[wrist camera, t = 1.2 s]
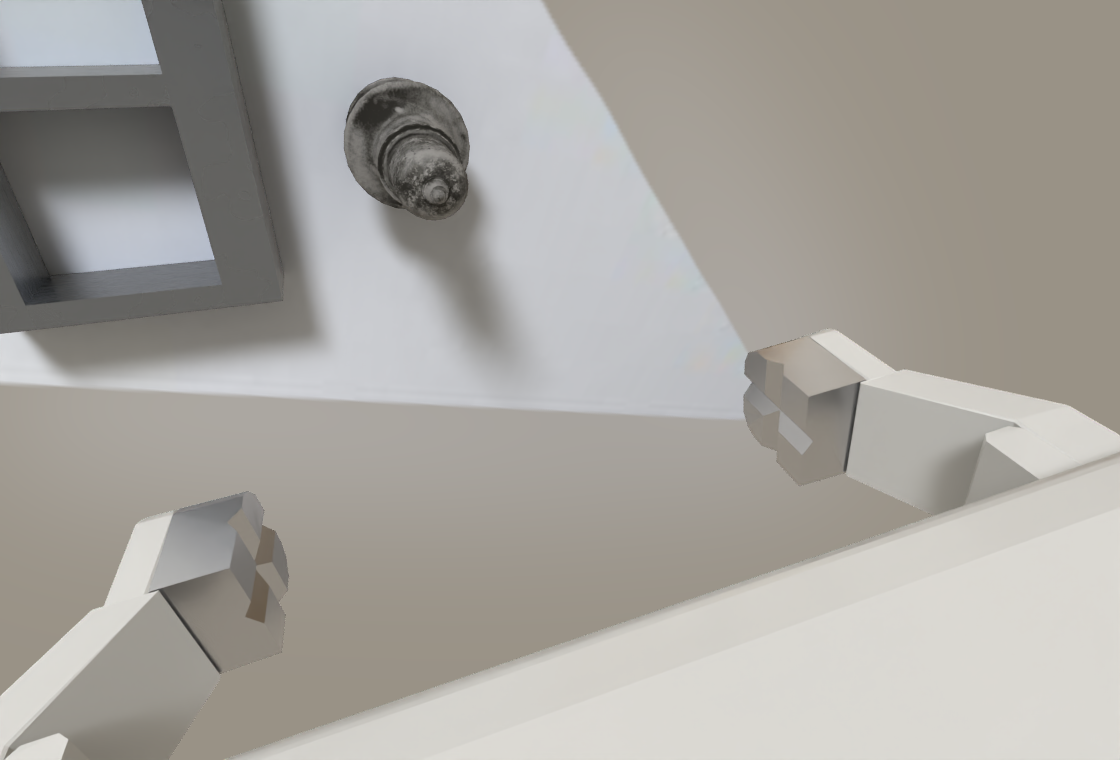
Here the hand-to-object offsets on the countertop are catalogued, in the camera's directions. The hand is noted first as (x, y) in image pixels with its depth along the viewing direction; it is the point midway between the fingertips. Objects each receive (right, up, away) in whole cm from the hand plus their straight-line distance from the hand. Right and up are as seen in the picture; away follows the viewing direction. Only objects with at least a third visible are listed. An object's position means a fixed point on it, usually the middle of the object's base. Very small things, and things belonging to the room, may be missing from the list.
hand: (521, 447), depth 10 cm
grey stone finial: (-8, +14, +23) cm, 28 cm away
